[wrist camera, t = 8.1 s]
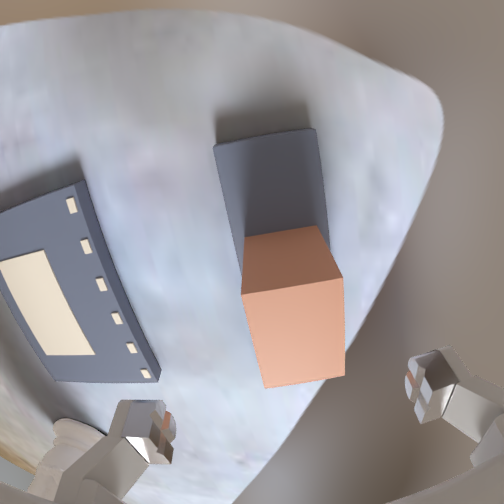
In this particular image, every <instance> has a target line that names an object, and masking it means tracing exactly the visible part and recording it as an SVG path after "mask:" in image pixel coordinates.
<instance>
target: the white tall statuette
mask: <svg viewBox="0 0 504 504" xmlns="http://www.w3.org/2000/svg"><path fill="white" fill-rule="evenodd" d="M53 431H54V433H55V435H56V437H57V438H55V439H54V441H53V444H54V446H55V447H53V448H52V449H51V450H49V451H48V452H47V453H46V454H45V456H44V457H43V459H42V461H41V462H40V463H39V464H38V466H37V469H36V474H35V478H34V479H33V481H32V483H31V484H30V486H29V488H28V491H27V492H28V493H30V494H33V495H36V496H38V497H41V498H44V499H47V500H50V501H54V498H55V495H56V492H57V489H58V486H59V482H60V479H61V476H62V473H63V472H64V471H65V470H66V469H68V468H69V467H70V466H71V465H72V464H73V463H74V462H76V461H77V460H78V459H79V458H80V457H81V456H82V455H83V454H85V453H86V452H87V451H88V450H89V449H90V448H91V447H92V446H94V445H95V444H96V443H97V442H98V441H99V440H100V439H101V438H102V437H104V436H105V435H104V434H102V433H100V431H98V430H97V429H95V428H94V427H91V426H89V425H87V424H83V423H81V422H79V421H75V420H72V419H69V418H67V419H66V418H65V419H64V418H62V419H59V420H57V421H56V422H55V423H54V425H53Z"/></svg>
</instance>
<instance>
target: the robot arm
mask: <svg viewBox="0 0 504 504" xmlns="http://www.w3.org/2000/svg"><path fill="white" fill-rule="evenodd" d="M408 367H409V369H410V371H409V372H408V373H407V374H406V377H405V388H406V392H407V395H408V397H409V400H411V401H413V402H415V403H416V405H415V408H414V411H415V413H416V415H417V417H418V419H419V422H420V424H423V423H426V422H429V421H431V420H434V419H437V418H440V417H442V418H443V419H445V420H446V421H447V422H449V423H451V424H452V425H453V426H455V427H456V428H457V429H459V430H460V431H462V432H463V433H465V434H466V435H467V436H469V437H470V438H472V439H473V440H475V441H476V442H477V443H479V444H478V445H477V446H476V448H475V449H474V451H473V452H472V453H471V455H470V459H471V461H472V463H473V466H474V468H472V469H470V470H468V471H466V472H464V473H462V474H460V475H458V476H456V477H454V478H452V479H449V480H447V481H445V482H443V483H440V484H438V485H436V486H433V487H431V488H428V489H426V490H423V491H420V492H418V493H415V494H412V495H410V496H407V497H404V498H401V499H398V500H395V501H392V502H389V503H386V504H504V388H502V387H500V386H498V385H496V384H494V383H492V382H490V381H487V380H485V379H483V378H481V377H479V376H477V375H475V376H472V375H471V373H470V371H469V370H468V369H467V367H466V366H465V364H464V363H463V361H462V360H461V358H460V357H459V355H458V354H457V353H456V351H455V350H454V348H453V347H452V346H451V345H448V346H445V347H442V348H439V349H435V350H432V351H430V352H426V353H423V354H420V355H418V356H415V357H411V359H410V360H409V363H408ZM175 436H176V423H175V420H174V417H173V416H172V414H171V413H169V412H167V411H166V405H165V403H164V402H163V400H121V401H120V402H119V403H118V405H117V408H116V411H115V414H114V417H113V420H112V423H111V426H110V429H109V433H108V436H104V437H102V438H101V439H100V440H99V441H98V442H97V443H96V444H95V445H94V446H92V447H91V448H90V449H89V450H88V451H87V452H86V453H85V454H83V455H82V456H81V457H80V458H79V459H78V460H77V461H76V462H74V463H73V464H72V465H71V466H70V467H69V468H68V469H66V470H65V471H64V472H63V473H62V476H61V479H60V482H59V486H58V489H57V492H56V495H55V498H54V501H50V500H47V499H44V498H41V497H38V496H36V495H33V494H30V493H28V492H25V491H23V490H20V489H18V488H15V487H13V486H10V485H8V484H6V483H4V482H2V481H0V504H126V503H125V502H123V501H122V498H123V497H124V496H125V495H126V494H127V492H128V491H129V490H130V489H131V487H132V486H133V485H134V484H135V482H136V481H137V480H138V479H139V477H140V476H141V475H142V474H143V472H144V471H145V470H146V469H147V467H148V466H149V464H171V462H172V456H173V450H174V448H173V447H172V445H171V444H170V443H171V442H172V441H173V440H174V439H175Z"/></svg>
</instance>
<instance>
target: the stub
mask: <svg viewBox="0 0 504 504" xmlns="http://www.w3.org/2000/svg"><path fill="white" fill-rule="evenodd" d="M213 151H214V156H215V160H216V165H217V169H218V174H219V178H220V183H221V187H222V192H223V196H224V201H225V205H226V210H227V214H228V219H229V223H230V228H231V232H232V236H233V241H234V245H235V249H236V254H237V258H238V262H239V267H240V271H241V275H242V287H241V297H242V301H243V305H244V309H245V313H246V317H247V321H248V325H249V329H250V333H251V337H252V341H253V345H254V349H255V353H256V357H257V361H258V365H259V368H260V372H261V376H262V380H263V384H264V388H273V387H280V386H287V385H294V384H300V383H306V382H312V381H318V380H323V379H329V378H334V377H339V376H344V375H345V318H344V287H343V277H342V274H341V272H340V270H339V268H338V266H337V264H336V262H335V260H334V258H333V256H332V254H331V252H330V241H329V230H328V220H327V211H326V202H325V193H324V185H323V177H322V169H321V162H320V154H319V147H318V141H317V134H316V129H313V128H307V129H300V130H293V131H286V132H280V133H273V134H267V135H261V136H256V137H250V138H245V139H239V140H234V141H229V142H224V143H219V144H215V145H214V146H213Z"/></svg>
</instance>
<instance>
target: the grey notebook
mask: <svg viewBox="0 0 504 504" xmlns="http://www.w3.org/2000/svg"><path fill="white" fill-rule="evenodd" d="M0 291H1V293H2V295H3V297H4V299H5V301H6V303H7V304H8V306H9V308H10V310H11V312H12V314H13V316H14V317H15V319H16V321H17V323H18V325H19V326H20V328H21V330H22V331H23V333H24V335H25V336H26V338H27V340H28V341H29V343H30V345H31V346H32V348H33V349H34V351H35V353H36V354H37V356H38V357H39V359H40V360H41V362H42V363H43V365H44V366H45V368H46V369H47V370H48V372H49V373H50V375H51V376H52V378H53V379H54V380H55V381H65V382H86V383H157V382H158V380H159V377H160V374H161V369H160V367H159V365H158V363H157V361H156V359H155V357H154V355H153V353H152V351H151V349H150V347H149V345H148V343H147V341H146V339H145V337H144V334H143V332H142V330H141V328H140V326H139V324H138V322H137V319H136V317H135V315H134V313H133V310H132V308H131V306H130V304H129V301H128V299H127V297H126V294H125V292H124V290H123V287H122V285H121V282H120V280H119V277H118V275H117V272H116V270H115V267H114V265H113V262H112V260H111V257H110V254H109V252H108V249H107V246H106V243H105V241H104V238H103V235H102V232H101V229H100V226H99V224H98V221H97V218H96V215H95V211H94V208H93V205H92V202H91V199H90V196H89V192H88V189H87V186H86V182H85V180H82V181H79V182H76V183H73V184H70V185H68V186H65V187H62V188H59V189H56V190H54V191H51V192H48V193H46V194H43V195H41V196H38V197H35V198H33V199H30V200H28V201H25V202H23V203H20V204H18V205H16V206H13V207H11V208H9V209H6V210H4V211H2V212H0Z"/></svg>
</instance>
